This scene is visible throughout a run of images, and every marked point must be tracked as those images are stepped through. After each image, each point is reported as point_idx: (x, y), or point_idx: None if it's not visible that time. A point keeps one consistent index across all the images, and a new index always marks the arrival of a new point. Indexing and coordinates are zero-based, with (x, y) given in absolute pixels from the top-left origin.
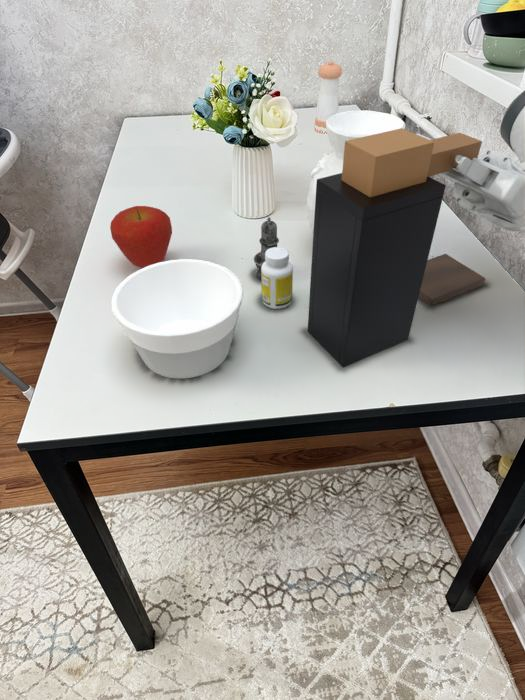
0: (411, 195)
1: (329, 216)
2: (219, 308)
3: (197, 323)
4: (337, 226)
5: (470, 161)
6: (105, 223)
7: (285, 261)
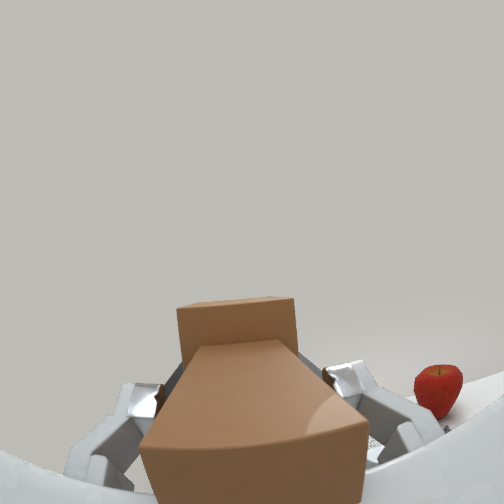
0: (169, 379)
1: None
2: None
3: None
4: None
5: (117, 407)
6: (486, 380)
7: (368, 465)
